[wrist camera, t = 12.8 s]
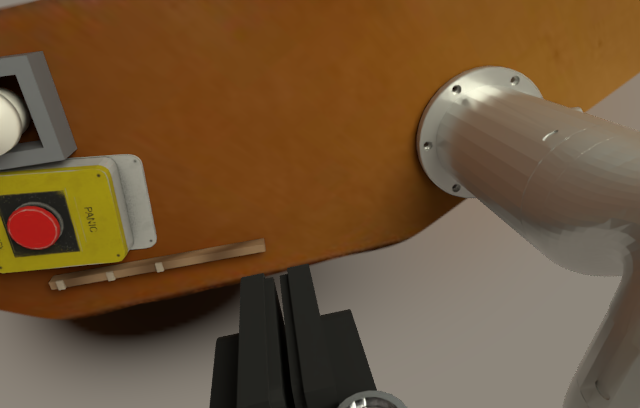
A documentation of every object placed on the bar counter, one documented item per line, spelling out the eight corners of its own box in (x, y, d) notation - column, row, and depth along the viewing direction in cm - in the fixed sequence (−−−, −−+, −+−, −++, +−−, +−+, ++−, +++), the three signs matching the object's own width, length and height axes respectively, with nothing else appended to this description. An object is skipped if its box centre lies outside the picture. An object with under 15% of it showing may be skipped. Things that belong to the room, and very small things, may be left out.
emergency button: (-76, 183, 35) (130, 168, 37) (-44, 164, 39) (141, 151, 41) (-34, 286, 39) (151, 267, 41) (-9, 259, 43) (159, 243, 45)
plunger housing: (42, 50, 36) (26, 55, 33) (77, 148, 39) (64, 159, 37) (-67, 65, 35) (-92, 71, 33) (-22, 164, 39) (-42, 176, 36)
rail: (263, 237, 45) (264, 244, 44) (265, 245, 46) (265, 252, 45) (53, 275, 44) (47, 283, 42) (56, 283, 44) (51, 291, 43)
